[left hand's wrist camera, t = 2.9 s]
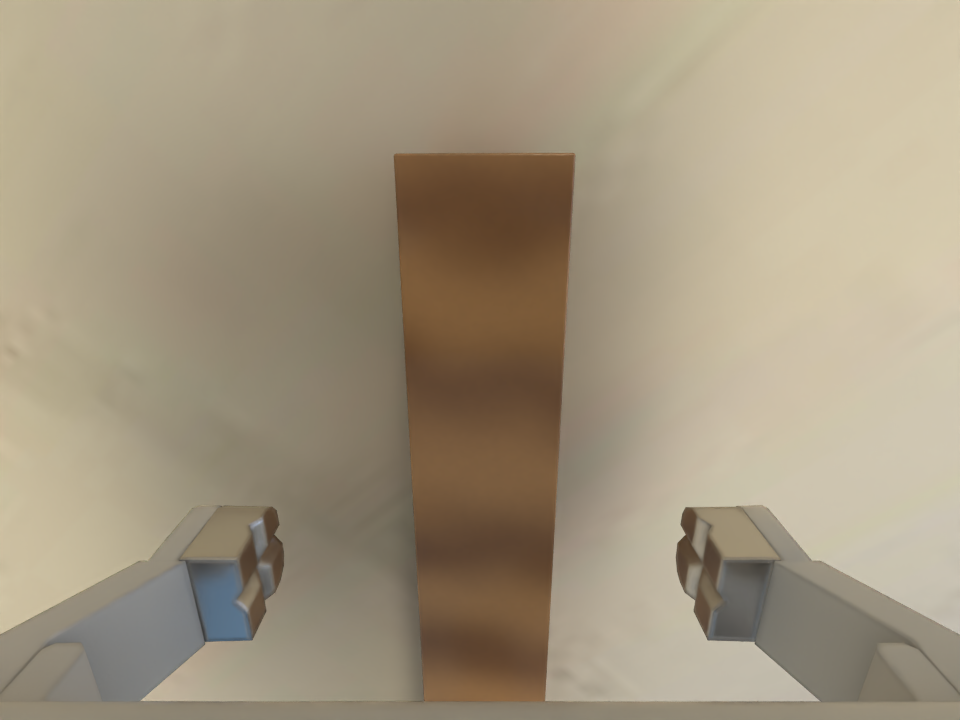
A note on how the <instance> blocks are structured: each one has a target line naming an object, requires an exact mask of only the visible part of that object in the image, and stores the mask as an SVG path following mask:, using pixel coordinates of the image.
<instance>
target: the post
mask: <svg viewBox="0 0 960 720" xmlns="http://www.w3.org/2000/svg"><path fill="white" fill-rule="evenodd" d="M394 169H395V187H396V205H397V222H398V240H399V258H400V276H401V294H402V312H403V330H404V348H405V366H406V384H407V401H408V419H409V437H410V455H411V473H412V491H413V509H414V527H415V545H416V563H417V581H418V598H419V616H420V634H421V652H422V670H423V688H424V701H545V692H546V674H547V656H548V638H549V620H550V602H551V584H552V566H553V548H554V530H555V512H556V494H557V476H558V458H559V441H560V423H561V405H562V387H563V369H564V351H565V333H566V315H567V297H568V279H569V261H570V243H571V225H572V208H573V190H574V172H575V154H574V153H434V154H394Z"/></svg>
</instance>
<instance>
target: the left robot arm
mask: <svg viewBox="0 0 960 720" xmlns="http://www.w3.org/2000/svg"><path fill="white" fill-rule="evenodd" d="M278 526H279V520H278V515H277V510H275V509H274V508H273V507H262V506H197V507H194V508H192V509H191V510H190V511H189V512H188V514H187V515H186V516H185V517H184V518H183V520H182V521H181V522H180V523H179V524H178V525H177V527H176V528H175V529H174V530H173V531H172V533H171V534H170V535H169V536H168V537H167V539H166V540H165V541H164V542H163V543H162V545H161V546H160V547H159V548H158V549H157V550H156V552H155V553H154V554H153V555H152V556H151V558H150V559H149V560H148V561H138V562H137V563H135V564H133V565H131V566H129V567H127V568H125V569H123V570H121V571H120V572H118V573H116V574H114V575H112V576H110V577H108V578H106V579H104V580H103V581H101V582H99V583H97V584H95V585H93V586H91V587H89V588H87V589H85V590H84V591H82V592H80V593H78V594H76V595H74V596H72V597H70V598H68V599H67V600H65V601H63V602H61V603H59V604H57V605H55V606H53V607H51V608H50V609H48V610H46V611H44V612H42V613H40V614H38V615H36V616H34V617H33V618H31V619H29V620H27V621H25V622H23V623H21V624H19V625H17V626H16V627H14V628H12V629H10V630H8V631H6V632H4V633H2V634H0V720H960V635H959V634H957V633H955V632H954V631H952V630H950V629H948V628H946V627H944V626H942V625H940V624H938V623H937V622H935V621H933V620H931V619H929V618H927V617H925V616H923V615H921V614H920V613H918V612H916V611H914V610H912V609H910V608H908V607H906V606H905V605H903V604H901V603H899V602H897V601H895V600H893V599H891V598H889V597H888V596H886V595H884V594H882V593H880V592H878V591H876V590H874V589H872V588H871V587H869V586H867V585H865V584H863V583H861V582H859V581H857V580H855V579H854V578H852V577H850V576H848V575H846V574H844V573H842V572H840V571H839V570H837V569H835V568H833V567H831V566H829V565H827V564H825V563H823V562H822V561H812V560H811V559H810V558H809V556H808V555H807V554H806V553H805V552H804V551H803V549H802V548H801V547H800V546H799V545H798V543H797V542H796V541H795V540H794V539H793V537H792V536H791V535H790V534H789V533H788V532H787V530H786V529H785V528H784V527H783V526H782V524H781V523H780V522H779V521H778V520H777V518H776V517H775V516H774V515H773V514H772V513H771V511H770V510H769V509H768V508H766V507H764V506H762V505H754V506H736V507H686V508H685V510H684V512H683V514H682V519H681V526H682V528H683V530H684V532H685V534H686V535H685V536H684V537H683V538H682V539H681V540H680V541H679V542H678V544H677V552H676V564H677V573H678V576H679V580H680V583H681V585H682V587H683V590H684V592H685V593H686V594H687V595H689V596H690V597H692V598H693V599H694V600H695V606H694V613H695V615H696V617H697V619H698V621H699V623H700V625H701V627H702V629H703V631H704V633H705V635H706V638H707V640H715V641H750V642H755V645H757V646H758V647H759V648H760V649H761V650H762V651H763V652H765V653H766V654H767V655H768V656H769V657H770V658H771V659H773V660H774V661H775V662H776V663H777V664H778V665H780V666H781V667H782V668H783V669H784V670H785V671H786V672H788V673H789V674H790V675H791V676H792V677H793V678H794V679H796V680H797V681H798V682H799V683H800V684H801V685H803V686H804V687H805V688H806V689H807V690H808V691H809V692H811V693H812V694H813V695H814V696H815V697H816V698H817V699H819V700H820V701H821V702H576V701H286V702H198V701H140V700H142V699H143V698H144V697H145V696H146V695H147V694H148V693H150V692H151V691H152V690H153V689H154V688H155V687H156V686H158V685H159V684H160V683H161V682H162V681H163V680H165V679H166V678H167V677H168V676H169V675H170V674H171V673H173V672H174V671H175V670H176V669H177V668H178V667H180V666H181V665H182V664H183V663H184V662H185V661H186V660H188V659H189V658H190V657H191V656H192V655H193V654H194V653H196V652H197V651H198V650H199V649H200V648H201V647H203V646H204V645H205V642H209V641H243V640H253V638H254V636H255V633H256V631H257V629H258V627H259V625H260V623H261V621H262V619H263V617H264V615H265V613H266V606H265V600H266V599H267V598H268V597H270V596H271V595H273V594H274V593H275V592H276V589H277V587H278V585H279V583H280V580H281V576H282V571H283V567H284V551H283V544H282V542H281V541H280V540H279V539H278V538H277V537H276V536H275V535H274V534H275V532H276V530H277V528H278Z"/></svg>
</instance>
